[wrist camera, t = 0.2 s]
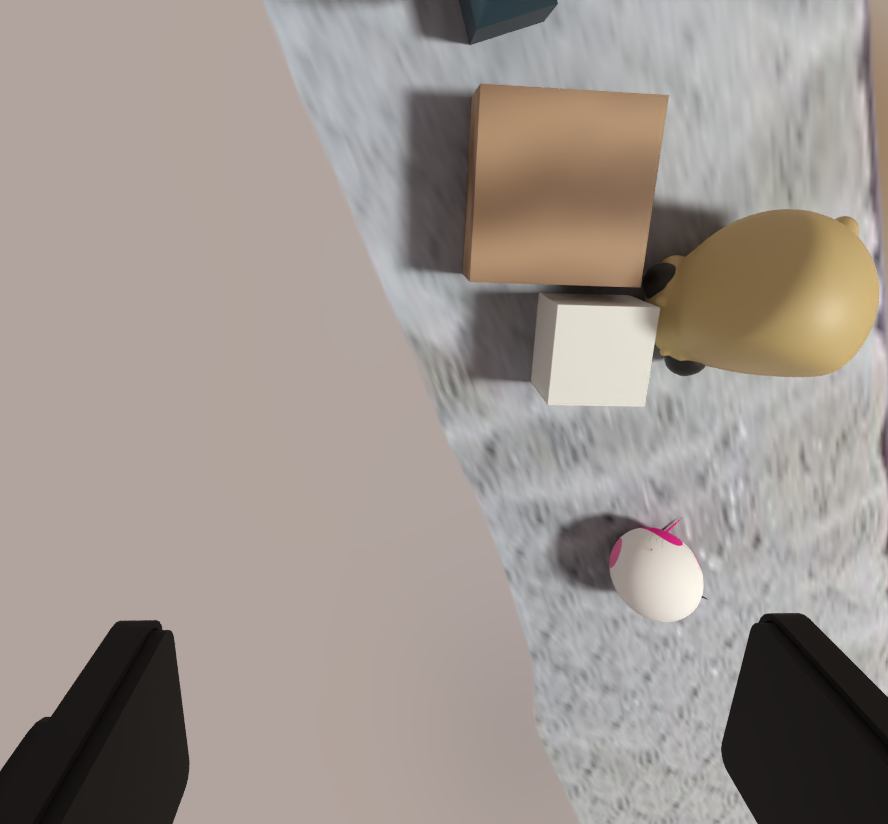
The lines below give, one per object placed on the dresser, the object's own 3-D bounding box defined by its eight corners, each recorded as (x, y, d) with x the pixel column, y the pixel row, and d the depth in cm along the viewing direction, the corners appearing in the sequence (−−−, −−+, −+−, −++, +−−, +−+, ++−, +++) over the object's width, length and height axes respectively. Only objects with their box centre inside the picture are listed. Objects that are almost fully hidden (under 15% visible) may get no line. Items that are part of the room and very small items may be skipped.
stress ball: (669, 540, 49) (743, 548, 43) (630, 628, 46) (704, 649, 40) (612, 486, 47) (683, 486, 41) (567, 574, 44) (637, 589, 38)
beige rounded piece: (676, 221, 41) (598, 264, 35) (890, 171, 32) (838, 217, 26) (702, 354, 44) (634, 417, 38) (904, 342, 35) (861, 421, 29)
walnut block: (471, 97, 34) (480, 83, 31) (639, 107, 35) (668, 95, 31) (462, 273, 38) (469, 281, 34) (616, 279, 38) (640, 287, 35)
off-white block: (538, 292, 38) (557, 304, 34) (628, 295, 39) (660, 307, 34) (530, 381, 40) (547, 405, 36) (616, 383, 41) (644, 406, 36)
